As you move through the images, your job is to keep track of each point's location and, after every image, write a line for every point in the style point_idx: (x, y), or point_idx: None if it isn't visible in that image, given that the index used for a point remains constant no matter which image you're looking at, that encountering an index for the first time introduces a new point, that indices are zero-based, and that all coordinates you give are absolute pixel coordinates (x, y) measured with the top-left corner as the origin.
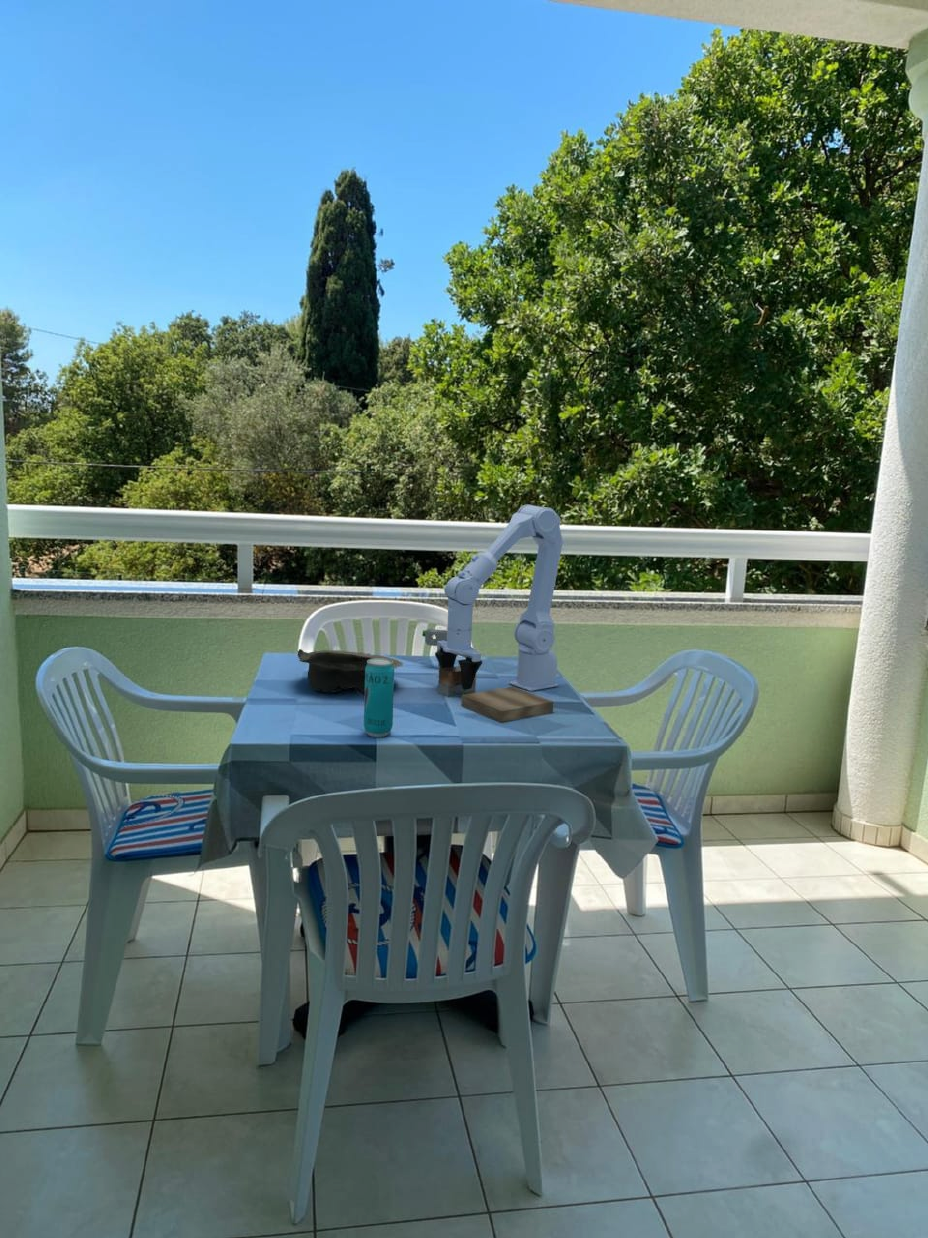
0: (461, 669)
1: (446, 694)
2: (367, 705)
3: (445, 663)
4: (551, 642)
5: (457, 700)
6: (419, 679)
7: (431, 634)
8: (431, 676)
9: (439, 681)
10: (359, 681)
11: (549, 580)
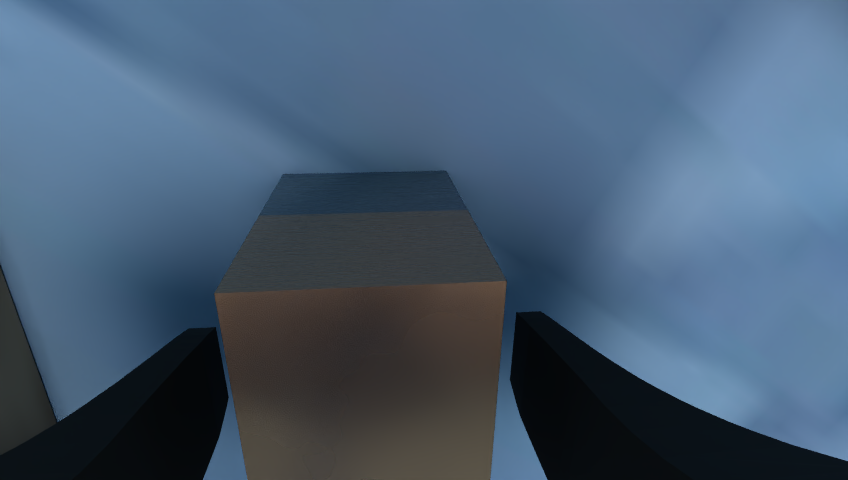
0: (54, 474)
1: (312, 180)
2: None
3: (604, 463)
4: None
5: (153, 191)
6: (843, 263)
7: None
8: (824, 378)
9: (448, 209)
10: None
11: None
